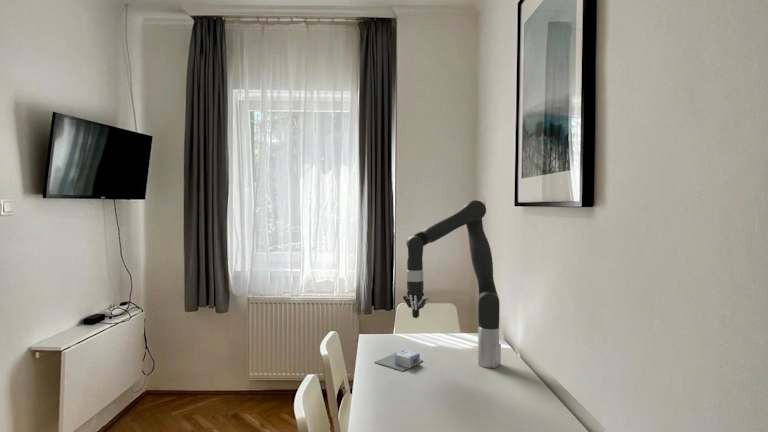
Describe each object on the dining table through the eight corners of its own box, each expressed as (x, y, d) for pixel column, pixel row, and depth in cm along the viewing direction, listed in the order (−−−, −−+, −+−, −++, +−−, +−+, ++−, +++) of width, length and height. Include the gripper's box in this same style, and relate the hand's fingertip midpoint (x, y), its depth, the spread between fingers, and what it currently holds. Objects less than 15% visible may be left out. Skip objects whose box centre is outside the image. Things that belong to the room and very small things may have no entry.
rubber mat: (423, 361, 190) (423, 360, 190) (402, 371, 178) (402, 370, 178) (396, 353, 201) (396, 352, 201) (374, 362, 188) (374, 361, 188)
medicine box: (410, 358, 180) (394, 354, 186) (410, 368, 180) (394, 363, 186) (420, 353, 187) (404, 349, 192) (419, 363, 187) (404, 359, 192)
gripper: (431, 279, 186) (432, 318, 186) (408, 277, 194) (408, 313, 194) (422, 282, 180) (423, 321, 180) (398, 279, 188) (399, 317, 188)
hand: (415, 317), depth 187 cm, fingers closed
